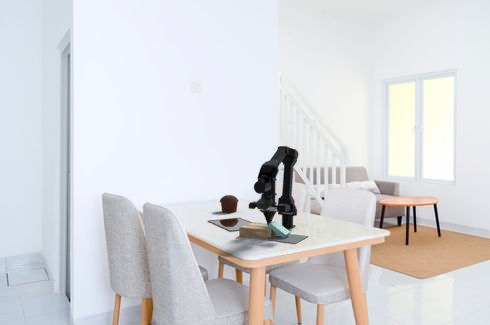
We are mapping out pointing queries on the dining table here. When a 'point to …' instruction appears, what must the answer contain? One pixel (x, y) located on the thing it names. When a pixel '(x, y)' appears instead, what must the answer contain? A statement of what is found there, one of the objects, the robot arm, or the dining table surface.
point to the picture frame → (230, 223)
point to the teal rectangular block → (279, 229)
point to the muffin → (229, 204)
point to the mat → (288, 238)
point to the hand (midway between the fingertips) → (268, 225)
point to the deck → (256, 231)
